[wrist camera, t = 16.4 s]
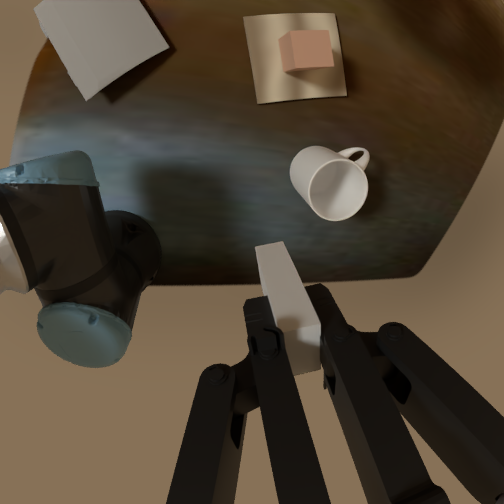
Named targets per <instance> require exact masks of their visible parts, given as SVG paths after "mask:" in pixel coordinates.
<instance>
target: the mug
mask: <svg viewBox="0 0 504 504" xmlns="http://www.w3.org/2000/svg"><path fill="white" fill-rule="evenodd" d="M357 151H364V154H363V156H362V157H361V158H360V159H358V160H357V161H355V162H353V161H351V160H349V159H348V158H349V157H350V156H351V155H352V154H353V153H355V152H357ZM369 157H370V156H369V152H368V151H367V150H366V149H364V148H357V147H356V148H349V149H345V150H343V151H340V152H338V153H336V152H334V151H332V150H330V149H328V148H326V147H322V146H310V147H307V148H305V149H303V150H301V151H300V152H299V153H298V154H297V155H296V156H295V157H294V159H293V161H292V163H291V167H290V178H291V182H292V184H293V186H294V188H295V189H296V190H297V191H298V193H299V194H300V195H301V196H302V197H303V199H304V200H305V201H306V202H307V203H308V204H309V206H310V207H311V208H312V209H313V210H314V212H315V213H316V214H317V215H319V216H320V217H322V218H324V219H326V220H330V221H340V220H344V219H347V218H349V217H351V216H353V215H354V214H355V213H356V212H358V210H359V209H360V208H361V207H362V205H363V204H364V202H365V200H366V197H367V193H368V181H367V177H366V175H365V173H364V170H365V168H366V166H367V164H368V162H369Z"/></svg>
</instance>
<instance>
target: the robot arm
mask: <svg viewBox="0 0 504 504" xmlns="http://www.w3.org/2000/svg"><path fill="white" fill-rule="evenodd" d="M99 186H100V185H99V182H97V180H96V177H95V173H94V169H93V166H92V162H91V159H90V157H89V156H88V155H87V154H86V153H85V152H82V151H78V150H76V151H70V152H65V153H60V154H55V155H51V156H47V157H43V158H39V159H35V160H30V161H27V162H23V163H19V164H16V165H12V166H9V167H7V168H3V169H0V294H1V293H2V292H4V291H5V290H13V291H16V292H19V293H23V294H26V293H27V292H29V291H30V290H32V289H33V288H34V289H35V291H36V293H37V295H38V297H39V299H40V301H41V303H42V306H43V308H42V309H41V311H40V312H39V314H38V322H37V330H38V334H39V336H40V338H41V340H42V341H43V343H44V344H45V345H46V346H47V347H48V348H49V349H50V350H51V351H52V352H53V353H54V354H56V355H57V356H59V357H61V358H62V359H64V360H66V361H69V362H71V363H73V364H76V365H79V366H83V367H90V368H100V367H107V366H110V365H113V364H115V363H116V362H118V361H119V360H120V359H121V358H122V357H123V355H124V354H125V352H126V349H127V347H128V344H129V342H130V340H131V337H132V328H133V324H134V320H135V316H136V312H137V308H138V304H139V300H140V296H141V293H142V291H144V290H145V288H146V287H147V286H149V285H150V284H151V282H152V281H153V280H154V278H155V277H156V275H157V272H158V270H159V266H160V262H161V247H160V243H159V240H158V238H157V236H156V234H155V232H154V231H153V229H152V228H151V227H150V226H149V225H148V224H147V223H146V222H145V221H144V220H142V219H141V218H139V217H138V216H136V215H134V214H131V213H128V212H125V211H118V210H113V211H106V212H105V211H104V207H103V203H102V200H101V196H100V192H99V188H98V187H99ZM255 250H256V256H257V262H258V268H259V274H260V280H261V286H262V290H263V294H264V296H262V297H257V298H252V299H247V300H246V302H245V304H244V306H243V311H244V316H245V322H246V328H247V334H248V339H247V342H248V347H249V353H248V355H247V356H246V358H245V359H244V360H242V361H241V362H239V363H238V364H236V365H234V366H231V367H230V366H228V365H226V364H221V363H220V364H213V365H211V366H209V367H207V368H206V369H205V370H204V371H203V372H202V374H201V376H200V378H199V382H198V386H197V389H196V393H195V397H194V400H193V404H192V408H191V411H190V415H189V418H188V422H187V426H186V430H185V433H184V437H183V441H182V445H181V448H180V452H179V456H178V460H177V463H176V467H175V471H174V475H173V479H172V482H171V486H170V490H169V494H168V498H167V502H166V504H234V500H235V493H236V487H237V481H238V473H239V467H240V461H241V454H242V446H243V440H244V434H245V426H246V420H247V413H248V412H250V411H252V410H254V409H256V408H258V407H260V410H261V415H262V420H263V425H264V431H265V436H266V441H267V446H268V451H269V456H270V462H271V467H272V472H273V477H274V481H275V487H276V491H277V496H278V501H279V504H331V502H330V499H329V495H328V492H327V488H326V485H325V482H324V478H323V475H322V471H321V468H320V464H319V461H318V457H317V454H316V450H315V447H314V444H313V440H312V437H311V434H310V430H309V426H308V423H307V420H306V416H305V413H304V410H303V406H302V403H301V399H300V396H299V392H298V389H297V386H296V383H295V379H294V376H295V375H300V374H304V373H308V372H312V371H316V370H320V369H321V364H322V367H323V369H324V384H323V386H324V389H326V387H327V388H328V391H329V394H330V397H331V399H332V402H333V405H334V407H335V410H336V413H337V416H338V419H339V421H340V424H341V427H342V430H343V432H344V435H345V438H346V441H347V444H348V446H349V449H350V452H351V455H352V458H353V461H354V464H355V466H356V470H357V472H358V475H359V478H360V481H361V484H362V487H363V490H364V493H365V496H366V499H367V502H368V504H450V501H449V499H448V496H447V495H446V493H445V491H444V490H443V489H442V488H441V487H440V486H437V485H435V484H434V483H433V482H432V480H431V479H430V476H429V474H428V472H427V470H426V467H425V465H424V463H423V461H422V459H421V456H420V454H419V452H418V450H417V448H416V445H415V444H414V441H413V439H412V437H411V435H410V433H409V431H408V429H407V427H406V425H405V422H404V420H403V418H402V416H401V414H402V415H403V416H404V418H405V419H406V420H407V421H408V422H409V423H410V424H411V426H412V427H413V428H414V429H415V430H416V431H417V433H418V434H419V435H420V436H421V437H422V438H423V439H424V441H425V442H426V443H427V444H428V445H429V446H430V447H431V449H432V450H433V451H434V452H435V453H436V454H437V455H438V457H439V458H440V459H441V460H442V461H443V462H444V464H445V465H446V466H447V467H448V468H449V469H450V470H451V472H452V473H453V474H454V475H455V476H456V477H457V479H458V480H459V481H460V482H461V483H462V484H463V485H464V487H465V488H466V489H467V490H468V491H469V493H470V494H471V495H472V496H473V497H474V498H475V499H476V500H477V501H479V502H480V503H481V504H504V417H503V416H502V415H501V414H500V413H499V412H498V411H497V410H496V409H495V408H494V407H493V406H492V405H491V404H490V403H489V402H488V401H487V400H485V399H484V398H483V397H482V396H481V395H480V394H479V393H478V392H477V391H476V390H475V389H474V388H473V387H472V386H471V385H470V384H469V383H468V382H467V381H466V380H464V379H463V378H462V377H461V376H460V375H459V374H458V373H457V372H456V371H455V370H454V369H453V368H452V367H450V366H449V365H448V364H447V363H446V362H445V361H444V360H443V359H442V358H441V357H440V356H438V355H437V354H436V353H435V352H434V351H433V350H432V349H431V348H430V347H429V346H428V345H426V344H425V343H424V342H423V341H422V340H421V339H420V338H419V337H417V336H416V335H415V334H414V333H413V332H412V331H411V330H410V329H408V328H407V327H406V326H404V325H403V324H401V323H397V322H389V323H386V324H384V325H382V326H381V327H380V328H379V331H378V332H360V331H357V330H356V329H355V328H354V327H353V326H351V325H348V324H347V322H346V320H345V318H344V317H343V315H342V313H341V311H340V310H339V308H338V306H337V304H336V303H335V300H334V298H333V297H332V295H331V293H330V291H329V289H328V288H326V287H325V286H324V285H322V284H321V283H319V284H315V285H310V286H306V287H304V286H303V284H302V281H301V279H300V277H299V275H298V273H297V271H296V268H295V266H294V264H293V262H292V260H291V258H290V256H289V254H288V251H287V249H286V247H285V245H284V243H283V241H281V242H276V243H271V244H266V245H261V246H256V247H255ZM400 413H401V414H400Z"/></svg>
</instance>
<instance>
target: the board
mask: <svg viewBox="0 0 504 504" xmlns="http://www.w3.org/2000/svg"><path fill="white" fill-rule="evenodd" d="M243 20H244V26H245V32H246V37H247V43H248V49H249V55H250V61H251V66H252V72H253V79H254V85H255V91H256V97H257V103H258V104H262V103H269V102H277V101H286V100H295V99H305V98H318V97H332V96H347V93H346V84H345V76H344V69H343V61H342V54H341V48H340V41H339V35H338V29H337V24H336V18H335V14H331V13H291V14H271V15H258V16H248V17H243ZM297 30H329V35H330V41H331V48H332V54H333V61H334V67H328V68H323V69H317V70H301V71H288V72H283V66H282V60H281V54H280V48H279V42H278V39H279V38H281V37H282V36H283V35H285V34H286V33H287V32H289V31H297Z"/></svg>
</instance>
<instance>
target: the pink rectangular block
mask: <svg viewBox="0 0 504 504" xmlns="http://www.w3.org/2000/svg"><path fill="white" fill-rule="evenodd" d="M278 42H279V48H280V54H281V60H282V66H283V72H288V71H301V70H317V69H323V68H328V67H334V61H333V54H332V48H331V41H330V35H329V30H297V31H289V32H287V33H286V34H285V35H283V36H282V37H281V38H279V39H278Z"/></svg>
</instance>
